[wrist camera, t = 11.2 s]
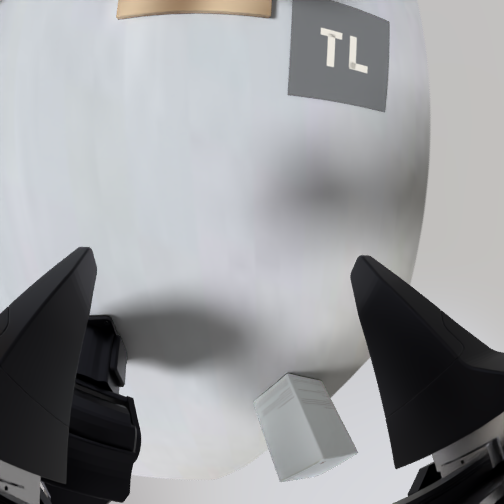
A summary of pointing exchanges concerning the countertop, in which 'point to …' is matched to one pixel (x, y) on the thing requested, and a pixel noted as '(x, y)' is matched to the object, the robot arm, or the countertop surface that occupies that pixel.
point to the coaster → (193, 7)
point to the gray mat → (338, 54)
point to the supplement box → (302, 428)
